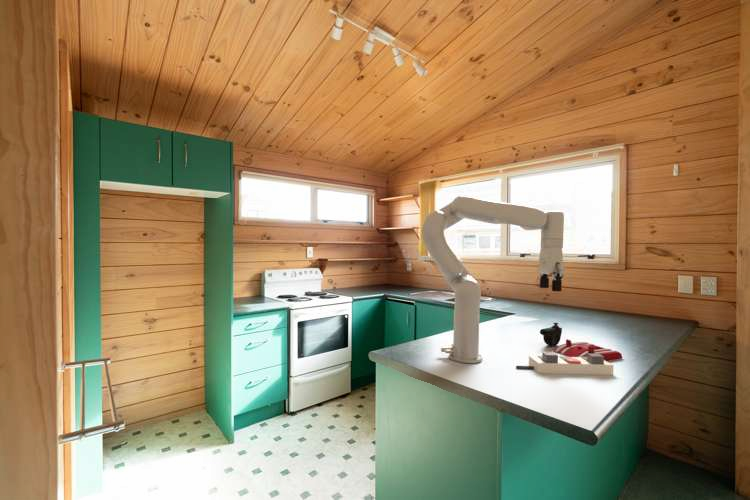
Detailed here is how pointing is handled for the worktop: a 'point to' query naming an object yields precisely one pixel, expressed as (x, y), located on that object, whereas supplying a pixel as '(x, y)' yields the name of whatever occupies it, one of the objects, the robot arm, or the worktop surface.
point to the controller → (551, 334)
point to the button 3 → (595, 358)
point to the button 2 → (572, 361)
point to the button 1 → (549, 357)
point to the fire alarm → (586, 350)
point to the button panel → (568, 366)
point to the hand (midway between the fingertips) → (550, 289)
